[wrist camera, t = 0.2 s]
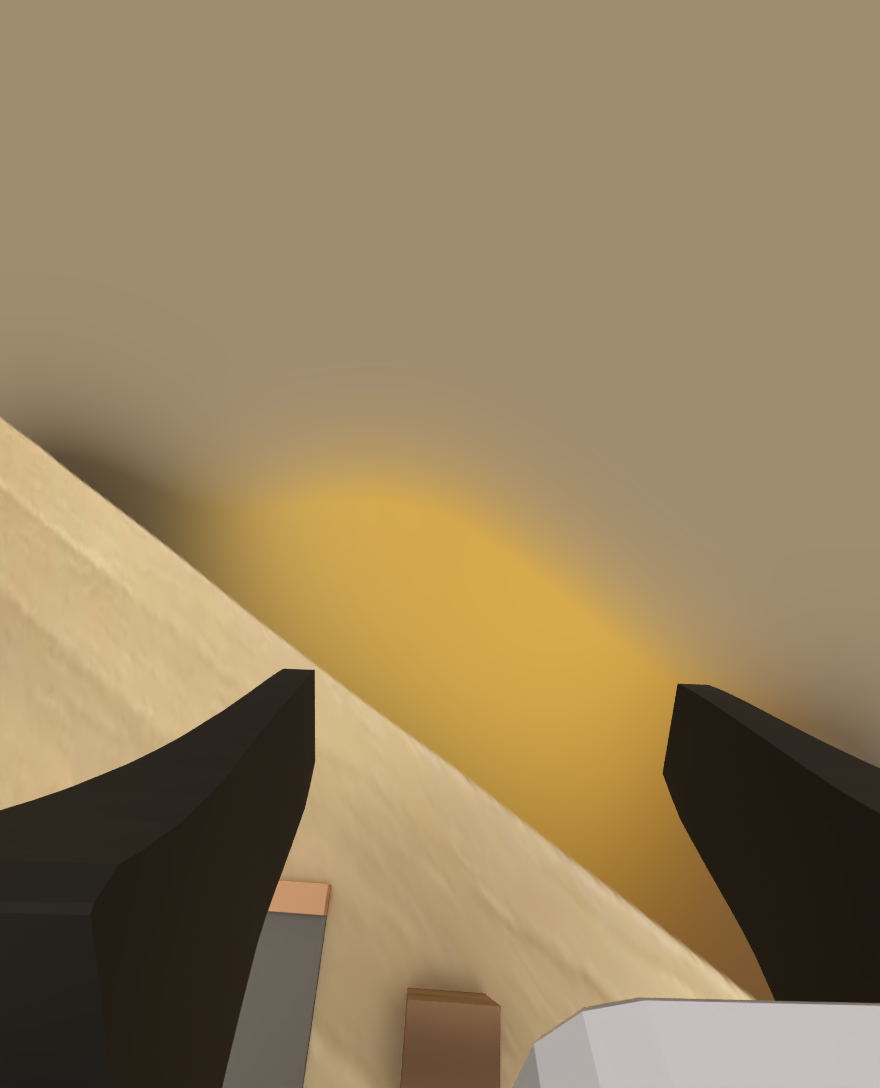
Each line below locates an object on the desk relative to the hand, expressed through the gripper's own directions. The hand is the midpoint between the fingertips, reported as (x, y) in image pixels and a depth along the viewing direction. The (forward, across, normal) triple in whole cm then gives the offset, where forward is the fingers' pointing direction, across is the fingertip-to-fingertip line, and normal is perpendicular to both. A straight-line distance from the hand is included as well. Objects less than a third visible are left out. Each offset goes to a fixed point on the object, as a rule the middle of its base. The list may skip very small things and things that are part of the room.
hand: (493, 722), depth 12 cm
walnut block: (+15, -1, +29) cm, 33 cm away
